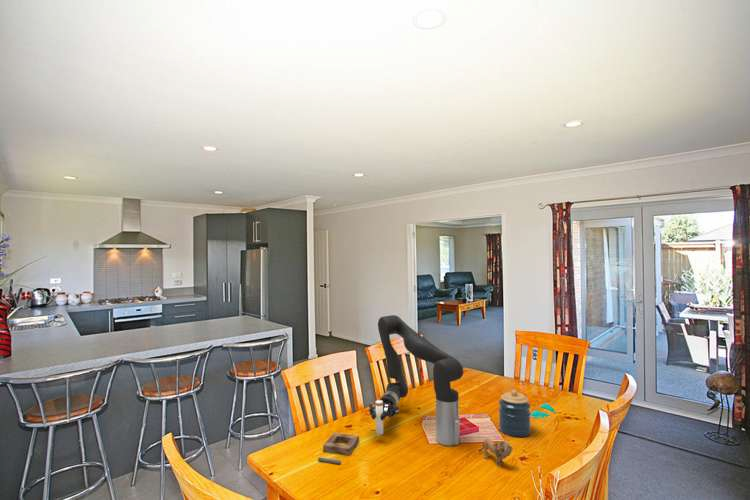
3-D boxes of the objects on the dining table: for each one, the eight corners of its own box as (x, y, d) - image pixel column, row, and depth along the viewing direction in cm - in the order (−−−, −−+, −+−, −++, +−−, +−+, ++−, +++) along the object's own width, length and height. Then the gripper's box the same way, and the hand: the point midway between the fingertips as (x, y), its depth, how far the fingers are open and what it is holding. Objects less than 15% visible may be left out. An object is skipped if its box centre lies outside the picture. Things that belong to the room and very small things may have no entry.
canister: (531, 427, 169) (531, 387, 169) (530, 440, 157) (529, 397, 157) (500, 422, 174) (500, 383, 175) (497, 434, 163) (496, 392, 163)
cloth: (542, 424, 173) (541, 419, 173) (516, 414, 185) (516, 409, 185) (574, 411, 187) (574, 407, 187) (548, 402, 199) (548, 398, 199)
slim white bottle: (384, 432, 158) (383, 400, 159) (382, 435, 155) (381, 403, 156) (377, 431, 159) (376, 399, 159) (375, 434, 156) (374, 402, 157)
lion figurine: (515, 466, 138) (515, 441, 138) (506, 471, 135) (506, 446, 135) (482, 450, 150) (482, 427, 150) (473, 454, 146) (473, 430, 147)
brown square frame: (359, 442, 156) (359, 436, 156) (349, 455, 146) (349, 449, 146) (334, 438, 160) (334, 432, 160) (323, 451, 149) (323, 445, 149)
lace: (341, 463, 140) (341, 460, 140) (340, 465, 139) (340, 461, 139) (318, 459, 143) (318, 456, 143) (317, 461, 142) (317, 458, 142)
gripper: (373, 392, 173) (360, 406, 157) (403, 395, 169) (394, 409, 153) (373, 409, 173) (361, 425, 157) (403, 412, 169) (394, 428, 152)
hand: (377, 417), depth 155 cm, fingers closed on slim white bottle, 3 cm apart
